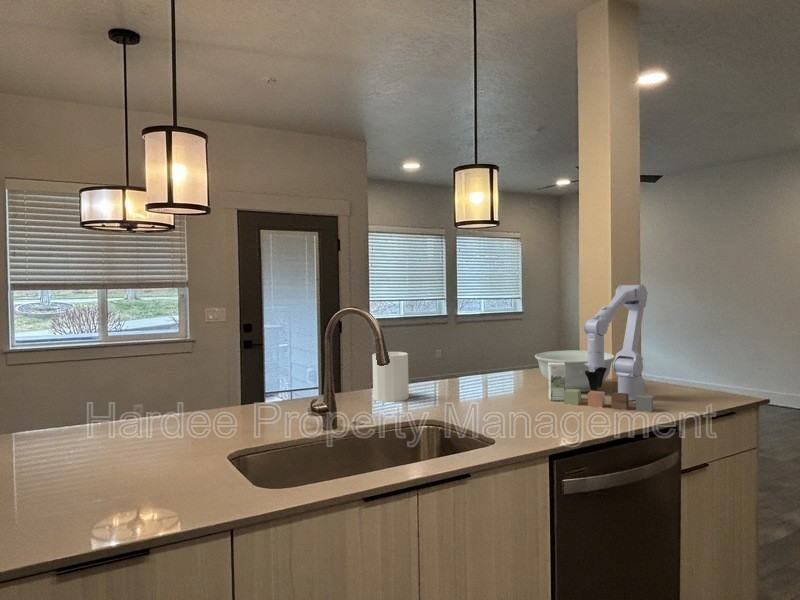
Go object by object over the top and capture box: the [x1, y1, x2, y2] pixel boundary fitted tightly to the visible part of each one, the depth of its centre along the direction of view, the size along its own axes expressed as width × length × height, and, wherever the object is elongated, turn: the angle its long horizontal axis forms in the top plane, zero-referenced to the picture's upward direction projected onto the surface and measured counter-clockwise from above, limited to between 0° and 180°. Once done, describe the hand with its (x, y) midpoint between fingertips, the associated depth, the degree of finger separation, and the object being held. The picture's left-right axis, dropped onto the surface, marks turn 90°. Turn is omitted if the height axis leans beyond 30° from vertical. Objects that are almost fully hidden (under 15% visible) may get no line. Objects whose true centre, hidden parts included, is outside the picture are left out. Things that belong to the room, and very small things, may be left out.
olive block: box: [563, 389, 582, 406], centre depth 210 cm, size 5×5×5 cm
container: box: [371, 351, 410, 403], centre depth 228 cm, size 14×14×18 cm
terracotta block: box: [587, 390, 606, 408], centre depth 206 cm, size 5×5×5 cm
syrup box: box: [547, 362, 566, 402], centre depth 217 cm, size 6×6×14 cm
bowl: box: [534, 349, 616, 393], centre depth 238 cm, size 32×32×15 cm
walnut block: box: [610, 392, 630, 411], centre depth 202 cm, size 5×5×5 cm
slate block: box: [635, 394, 654, 413], centre depth 198 cm, size 5×5×5 cm
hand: (596, 388), depth 206 cm, fingers open, 7 cm apart
